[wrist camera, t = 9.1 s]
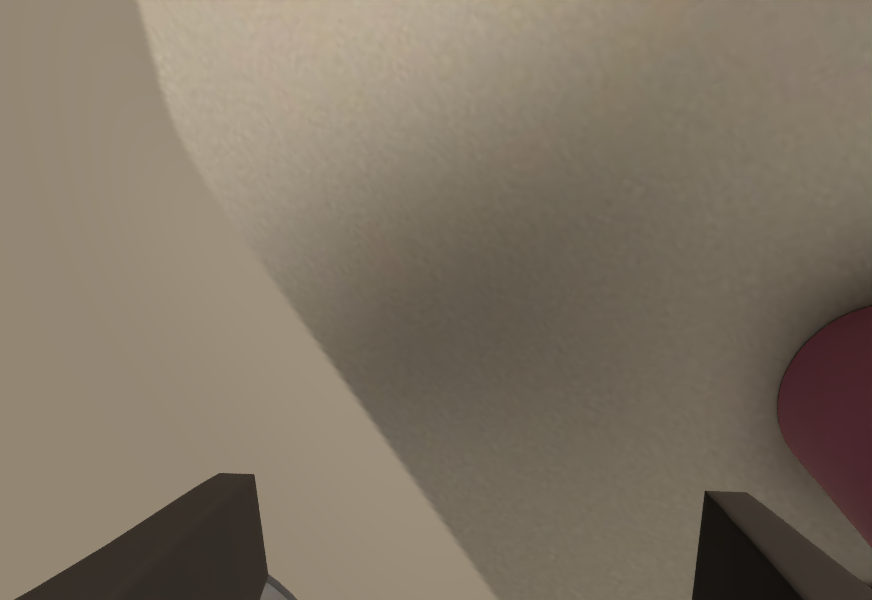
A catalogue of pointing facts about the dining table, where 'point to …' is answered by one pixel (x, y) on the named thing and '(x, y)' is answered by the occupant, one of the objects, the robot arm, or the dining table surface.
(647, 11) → the dining table surface
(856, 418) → the yogurt
